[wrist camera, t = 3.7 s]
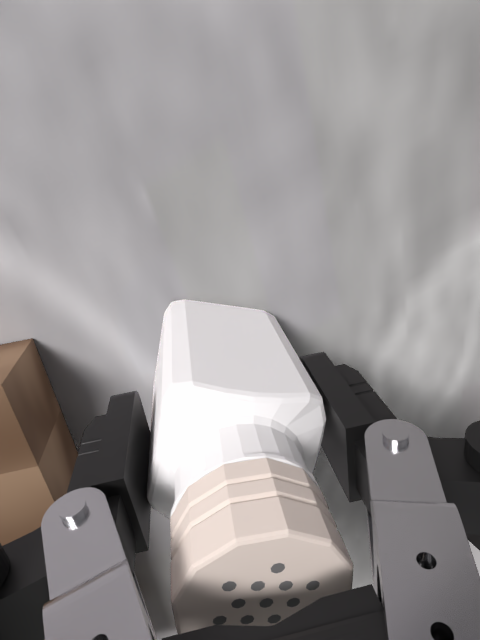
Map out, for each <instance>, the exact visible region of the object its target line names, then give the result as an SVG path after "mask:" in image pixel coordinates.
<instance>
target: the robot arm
mask: <svg viewBox="0 0 480 640" xmlns="http://www.w3.org/2000/svg"><path fill="white" fill-rule="evenodd" d="M300 361H301V362H302V364H303V366H304V367H305V369H306V371H307V372H308V374H309V376H310V378H311V379H312V381H313V383H314V384H315V386H316V388H317V389H318V391H319V393H320V395H321V396H322V399H323V404H324V409H325V414H326V423H325V428H324V433H323V438H322V442H321V446H322V448H323V450H324V452H325V454H326V456H327V458H328V460H329V462H330V464H331V466H332V468H333V470H334V472H335V474H336V476H337V478H338V480H339V482H340V484H341V486H342V488H343V490H344V492H345V494H346V496H347V498H348V500H349V502H353V501H358V500H363V502H364V504H365V505H366V507H367V523H368V534H369V545H370V556H371V566H372V577H373V586H372V584H371V585H367V586H363V587H360V588H356V589H352V590H348V591H344V592H340V593H336V594H332V595H329V596H325V597H321V598H320V599H318V600H316V601H315V602H313V603H311V604H309V605H308V606H306V607H304V608H303V609H301V610H299V611H298V612H296V613H294V614H292V615H291V616H289V617H287V618H286V619H284V620H282V621H281V622H279V623H277V624H275V625H272V626H238V625H213V626H209V627H205V628H201V629H197V630H193V631H189V632H186V633H182V634H178V635H174V636H170V637H166V638H162V640H480V576H479V573H478V570H477V567H476V564H475V561H474V558H473V555H472V552H471V549H470V545H469V542H468V540H469V541H470V542H471V543H472V544H473V545H474V546H475V547H477V548H478V549H479V550H480V421H477V422H474V423H472V424H471V425H470V426H469V427H468V428H467V430H466V433H465V438H432V437H427V436H426V434H425V433H424V432H423V431H422V430H421V429H420V428H419V427H418V426H416V425H414V424H412V423H410V422H407V421H403V420H398V419H397V418H396V417H395V416H394V415H393V414H392V412H391V411H390V410H389V409H388V407H387V406H386V405H385V404H384V402H383V401H382V400H381V399H380V398H379V396H378V395H377V394H376V393H375V392H373V389H372V388H371V387H370V385H369V384H368V383H366V380H365V379H364V378H363V377H362V375H361V374H360V373H359V372H358V371H357V370H355V369H353V368H351V367H349V366H347V365H345V364H343V365H338V366H334V365H333V363H332V362H331V360H330V359H329V358H328V356H327V355H326V354H325V353H324V352H321V353H316V354H311V355H307V356H302V357H300ZM150 434H151V433H150V430H149V426H148V423H147V420H146V416H145V413H144V409H143V406H142V403H141V399H140V396H139V394H138V392H137V391H133V392H129V393H124V394H119V395H114V396H111V398H110V402H109V406H108V411H107V414H106V415H102V416H97V417H95V418H94V419H93V420H92V422H91V423H90V424H89V425H88V426H87V428H86V429H85V431H84V434H83V438H82V441H81V445H80V448H79V452H78V456H77V459H76V462H75V466H74V469H73V473H72V476H71V480H70V483H69V486H68V490H67V493H66V494H65V495H63V496H62V497H60V498H59V499H58V500H56V501H55V502H54V503H53V504H52V505H51V506H50V507H49V508H48V510H47V511H46V513H45V514H44V516H43V519H42V522H41V527H39V528H38V529H36V530H34V531H32V532H30V533H28V534H26V535H24V536H22V537H20V538H18V539H16V540H14V541H12V542H10V543H8V544H6V545H4V546H2V545H1V543H0V640H44V639H45V640H157V637H156V634H155V631H154V628H153V625H152V622H151V619H150V617H149V614H148V611H147V608H146V605H145V602H144V599H143V596H142V593H141V590H140V587H139V584H138V581H137V578H136V575H135V573H134V563H135V553H139V552H143V551H147V550H149V530H150V510H151V505H150V503H149V501H148V499H147V482H148V466H149V450H150Z"/></svg>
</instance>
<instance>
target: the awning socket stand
mask: <svg viewBox="0 0 480 640" xmlns="http://www.w3.org/2000/svg"><path fill="white" fill-rule="evenodd" d="M77 456H78V452H77V450H76V447H75V445H74V442H73V439H72V437H71V434H70V432H69V429H68V427H67V424H66V422H65V419H64V417H63V414H62V412H61V409H60V406H59V404H58V401H57V399H56V396H55V394H54V391H53V389H52V386H51V384H50V381H49V379H48V376H47V374H46V371H45V368H44V366H43V363H42V361H41V358H40V356H39V353H38V351H37V348H36V346H35V343H34V341H33V339H27V340H22V341H17V342H12V343H7V344H2V345H0V543H1V545H2V546H4V545H6V544H8V543H10V542H12V541H14V540H16V539H18V538H20V537H22V536H24V535H26V534H28V533H30V532H32V531H34V530H36V529H38V528H39V527H41V522H42V519H43V516H44V514H45V513H46V511H47V510H48V508H49V507H50V506H51V505H52V504H53V503H54V502H55V501H56V500H58V499H59V498H60V497H62V496H63V495H65V494H66V493H67V490H68V486H69V483H70V480H71V476H72V473H73V469H74V466H75V462H76V459H77ZM44 640H45V639H44Z"/></svg>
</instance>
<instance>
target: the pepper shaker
mask: <svg viewBox="0 0 480 640" xmlns="http://www.w3.org/2000/svg"><path fill="white" fill-rule="evenodd" d="M325 423H326V414H325V409H324V404H323V399H322V396H321V395H320V393H319V391H318V389H317V388H316V386H315V384H314V383H313V381H312V379H311V378H310V376H309V374H308V372H307V371H306V369H305V367H304V366H303V364H302V362H301V361H300V359H299V357H298V356H297V354H296V352H295V350H294V349H293V347H292V345H291V344H290V342H289V340H288V339H287V337H286V335H285V333H284V332H283V330H282V328H281V327H280V325H279V323H278V322H277V320H276V318H275V316H273V315H271V314H270V313H268V312H266V311H265V310H259V309H252V308H244V307H237V306H230V305H223V304H216V303H208V302H201V301H194V300H187V299H183V300H178V301H173V302H171V303H170V305H169V307H168V308H167V310H166V311H165V313H164V318H163V324H162V331H161V338H160V345H159V351H158V358H157V365H156V372H155V378H154V387H153V402H152V418H151V434H150V450H149V466H148V482H147V499H148V501H149V503H150V505H151V506H152V508H153V509H154V510H156V511H158V512H159V513H161V514H162V515H164V516H165V517H167V518H169V519H170V532H171V560H172V561H171V603H172V609H173V614H174V619H175V624H176V630H177V633H178V634H182V633H186V632H189V631H193V630H197V629H201V628H205V627H209V626H213V625H238V626H272V625H275V624H277V623H279V622H281V621H282V620H284V619H286V618H287V617H289V616H291V615H292V614H294V613H296V612H298V611H299V610H301V609H303V608H304V607H306V606H308V605H309V604H311V603H313V602H315V601H316V600H318V599H320V598H321V597H325V596H329V595H332V594H336V593H340V592H344V591H348V590H352V579H353V563H352V561H351V558H350V556H349V554H348V551H347V549H346V547H345V544H344V542H343V540H342V537H341V535H340V533H339V531H338V530H337V526H336V523H335V521H334V519H333V517H332V514H331V513H330V512H329V507H328V505H327V503H326V500H325V498H324V496H323V493H322V491H321V489H320V487H319V485H318V483H317V481H316V480H315V478H314V476H313V474H312V473H313V471H314V468H315V464H316V461H317V457H318V454H319V451H320V447H321V442H322V438H323V433H324V428H325Z"/></svg>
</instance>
